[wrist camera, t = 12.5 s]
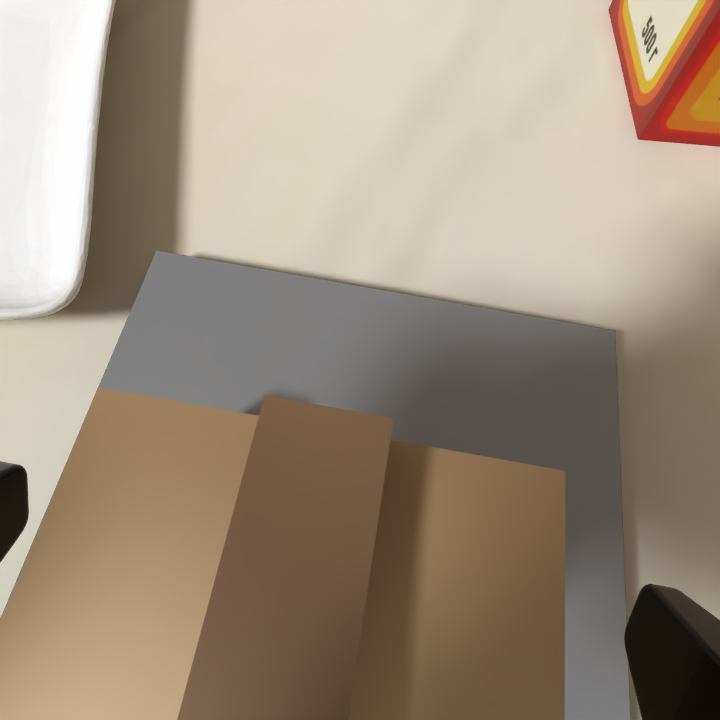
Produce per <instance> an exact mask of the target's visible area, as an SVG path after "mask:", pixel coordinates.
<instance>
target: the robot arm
mask: <svg viewBox="0 0 720 720" xmlns="http://www.w3.org/2000/svg"><path fill="white" fill-rule="evenodd" d="M28 514H29V508H28V482H27V472H26V470H25V469H24V468H23V467H22V466H21V465H17V464H12V463H7V462H1V461H0V562H1V561H2V560H3V558H4V557H5V555H6V554H7V553H8V551H9V550H10V548H11V547H12V546H13V544H14V543H15V541H16V540H17V539H18V537H19V536H20V534H21V533H22V531H23V530H24V528H25V526H26V523H27V520H28ZM624 644H625V650H626V654H627V658H628V662H629V667H630V671H631V675H632V679H633V684H634V688H635V692H636V696H637V700H638V705H639V709H640V713H641V717H642V720H720V620H718V619H717V618H716V617H714V616H713V615H712V614H710V613H709V612H708V611H706V610H705V609H704V608H702V607H701V606H700V605H698V604H697V603H696V602H694V601H693V600H692V599H690V598H689V597H687V596H686V595H685V594H683V593H682V592H681V591H679V590H677V589H674V588H670V587H665V586H659V585H654V584H648V585H645V586H644V587H643V588H642V589H641V591H640V593H639V595H638V598H637V600H636V603H635V605H634V608H633V610H632V613H631V615H630V618H629V621H628V623H627V626H626V629H625V634H624Z"/></svg>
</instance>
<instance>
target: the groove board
mask: <svg viewBox="0 0 720 720" xmlns="http://www.w3.org/2000/svg"><path fill="white" fill-rule="evenodd" d="M99 387H101V388H106V389H112V390H117V391H123V392H129V393H134V394H140V395H145V396H151V397H157V398H162V399H168V400H173V401H179V402H184V403H190V404H196V405H201V406H207V407H212V408H218V409H223V410H229V411H235V412H240V413H246V414H251V415H257V416H259V414H260V410H261V406H262V403H263V399H264V395H267V396H273V397H278V398H284V399H289V400H295V401H301V402H306V403H312V404H318V405H323V406H329V407H334V408H340V409H346V410H351V411H357V412H362V413H368V414H374V415H379V416H385V417H390V418H394V419H393V426H392V433H391V440H396V441H402V442H407V443H413V444H419V445H424V446H430V447H435V448H441V449H446V450H452V451H458V452H463V453H469V454H474V455H480V456H485V457H491V458H497V459H502V460H508V461H513V462H519V463H524V464H530V465H536V466H541V467H547V468H552V469H558V470H564V471H565V720H630V699H629V673H628V658H627V654H626V650H625V644H624V634H625V629H626V626H627V622H626V596H625V570H624V545H623V519H622V493H621V468H620V442H619V416H618V390H617V365H616V339H615V331H614V330H608V329H603V328H597V327H591V326H585V325H580V324H574V323H568V322H563V321H557V320H551V319H545V318H540V317H534V316H528V315H523V314H517V313H511V312H505V311H500V310H494V309H488V308H483V307H477V306H471V305H465V304H460V303H454V302H448V301H443V300H437V299H431V298H425V297H420V296H414V295H408V294H402V293H397V292H391V291H385V290H380V289H374V288H368V287H362V286H357V285H351V284H345V283H340V282H334V281H328V280H322V279H317V278H311V277H305V276H300V275H294V274H288V273H282V272H277V271H271V270H265V269H260V268H254V267H248V266H242V265H237V264H231V263H225V262H219V261H214V260H208V259H202V258H197V257H191V256H185V255H179V254H174V253H168V252H162V251H157V250H156V252H155V255H154V257H153V259H152V262H151V264H150V267H149V269H148V271H147V274H146V276H145V278H144V281H143V283H142V285H141V288H140V290H139V293H138V295H137V297H136V300H135V302H134V304H133V307H132V309H131V311H130V314H129V316H128V318H127V321H126V323H125V326H124V328H123V330H122V333H121V335H120V337H119V340H118V342H117V344H116V347H115V349H114V352H113V354H112V356H111V359H110V361H109V363H108V366H107V368H106V370H105V373H104V375H103V377H102V380H101V382H100V385H99ZM66 463H67V462H66ZM61 475H62V474H61ZM58 482H59V481H58ZM55 489H56V488H55ZM53 494H54V493H53ZM52 496H53V495H52ZM50 501H51V500H50ZM48 506H49V505H48ZM47 508H48V507H47ZM45 513H46V512H45ZM44 515H45V514H44ZM42 520H43V519H42ZM41 522H42V521H41ZM40 525H41V524H40ZM39 527H40V526H39ZM37 532H38V531H37ZM36 534H37V533H36ZM35 537H36V536H35ZM34 539H35V538H34ZM33 541H34V540H33ZM32 544H33V543H32ZM31 546H32V545H31ZM30 548H31V547H30ZM29 551H30V550H29ZM28 553H29V552H28ZM27 556H28V554H27ZM26 558H27V557H26ZM25 560H26V559H25ZM24 563H25V562H24ZM23 565H24V564H23ZM22 568H23V566H22ZM21 570H22V569H21ZM20 572H21V571H20ZM19 575H20V573H19ZM18 577H19V576H18ZM17 579H18V578H17ZM16 582H17V580H16ZM15 584H16V583H15ZM14 587H15V585H14ZM13 589H14V588H13ZM12 591H13V590H12ZM11 594H12V592H11ZM10 596H11V595H10ZM9 599H10V597H9ZM9 599H8V601H9ZM7 603H8V602H7ZM6 606H7V604H6ZM6 606H5V608H6ZM4 611H5V609H4ZM4 611H3V613H4ZM3 613H2V615H3ZM1 618H2V616H1ZM1 618H0V620H1Z"/></svg>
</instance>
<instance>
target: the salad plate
mask: <svg viewBox="0 0 720 720" xmlns="http://www.w3.org/2000/svg"><path fill="white" fill-rule="evenodd" d="M115 3H116V0H0V320H16V319H30V318H38V317H44V316H48V315H51V314H54V313H56V312H58V311H60V310H61V309H63V308H64V307H66V306H68V305H69V304H70V303H71V302H72V300H73V299H74V298H75V297H76V296H77V294H78V293H79V290H80V288H81V285H82V282H83V278H84V273H85V268H86V262H87V257H88V250H89V242H90V233H91V222H92V208H93V190H94V175H95V161H96V148H97V136H98V126H99V116H100V107H101V97H102V88H103V79H104V70H105V62H106V54H107V47H108V41H109V35H110V29H111V23H112V17H113V12H114V7H115Z"/></svg>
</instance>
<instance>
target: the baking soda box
mask: <svg viewBox="0 0 720 720" xmlns="http://www.w3.org/2000/svg"><path fill="white" fill-rule="evenodd" d="M609 14H610V18H611V23H612V27H613V32H614V36H615V40H616V45H617V49H618V54H619V58H620V62H621V67H622V71H623V76H624V80H625V85H626V89H627V93H628V98H629V102H630V107H631V111H632V115H633V120H634V124H635V129H636V133H637V138H638V139H639V140H651V141H663V142H674V143H686V144H697V145H709V146H720V0H613V1H612V3H611V5H610V8H609Z"/></svg>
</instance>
